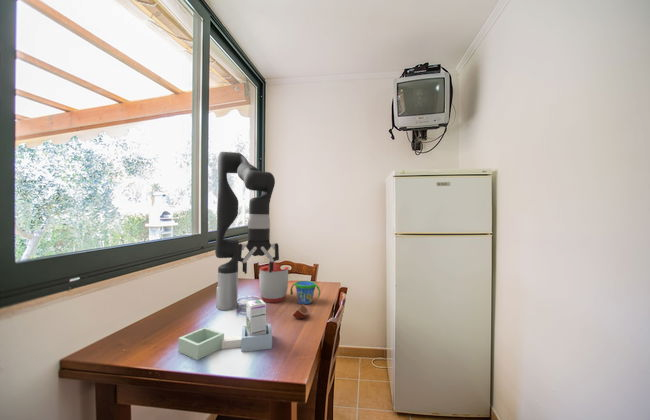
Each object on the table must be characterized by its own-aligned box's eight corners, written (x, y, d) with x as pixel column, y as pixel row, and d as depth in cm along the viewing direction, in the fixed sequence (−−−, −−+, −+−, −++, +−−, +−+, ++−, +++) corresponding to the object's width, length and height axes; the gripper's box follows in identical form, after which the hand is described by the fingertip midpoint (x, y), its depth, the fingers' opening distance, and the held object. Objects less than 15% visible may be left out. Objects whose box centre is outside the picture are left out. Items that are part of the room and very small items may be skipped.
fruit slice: (296, 313, 124) (296, 302, 124) (310, 315, 123) (310, 304, 123) (290, 320, 116) (290, 309, 116) (305, 322, 115) (305, 310, 115)
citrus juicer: (296, 297, 148) (296, 261, 149) (274, 306, 134) (274, 266, 134) (275, 292, 157) (275, 258, 157) (252, 300, 142) (252, 262, 142)
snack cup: (322, 301, 143) (322, 281, 143) (315, 307, 133) (316, 286, 133) (295, 298, 147) (295, 279, 148) (287, 304, 137) (287, 284, 138)
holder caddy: (172, 363, 82) (172, 348, 82) (183, 341, 96) (183, 328, 96) (272, 351, 90) (272, 337, 90) (269, 333, 103) (270, 321, 104)
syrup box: (266, 344, 94) (267, 303, 95) (249, 348, 91) (250, 305, 92) (261, 338, 99) (262, 298, 100) (245, 341, 96) (246, 301, 96)
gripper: (237, 227, 91) (236, 276, 90) (280, 227, 94) (279, 274, 94) (238, 226, 98) (237, 271, 98) (278, 226, 101) (277, 269, 101)
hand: (258, 272), depth 96 cm, fingers open, 8 cm apart
